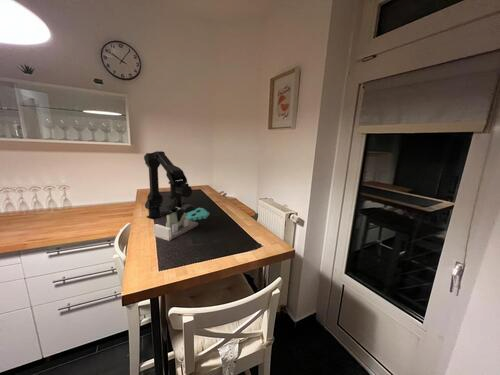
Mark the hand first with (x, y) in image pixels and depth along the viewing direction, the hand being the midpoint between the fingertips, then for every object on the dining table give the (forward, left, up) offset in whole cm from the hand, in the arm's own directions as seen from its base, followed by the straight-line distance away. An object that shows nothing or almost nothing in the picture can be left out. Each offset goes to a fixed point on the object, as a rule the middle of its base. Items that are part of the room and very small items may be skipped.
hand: (177, 221), depth 113 cm
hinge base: (0, 0, -5) cm, 5 cm away
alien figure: (-8, +22, -6) cm, 24 cm away
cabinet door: (0, 0, -3) cm, 3 cm away
